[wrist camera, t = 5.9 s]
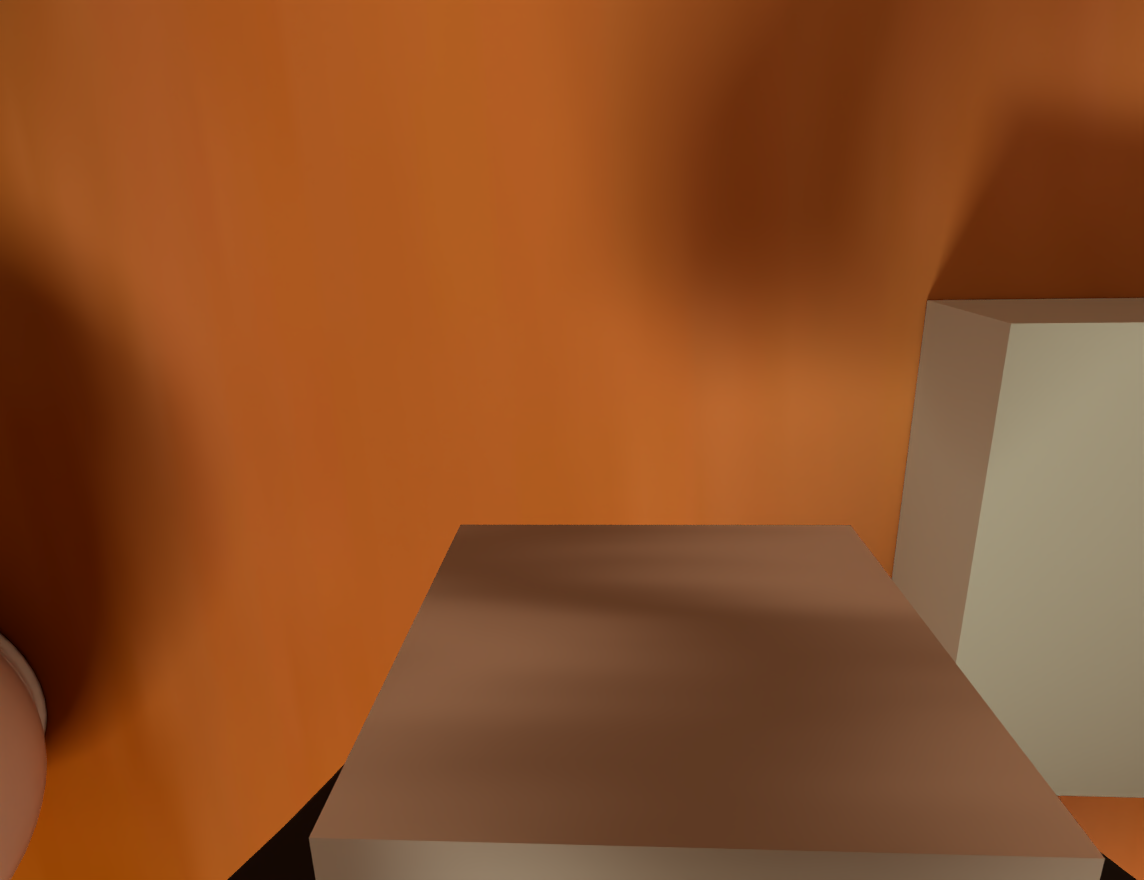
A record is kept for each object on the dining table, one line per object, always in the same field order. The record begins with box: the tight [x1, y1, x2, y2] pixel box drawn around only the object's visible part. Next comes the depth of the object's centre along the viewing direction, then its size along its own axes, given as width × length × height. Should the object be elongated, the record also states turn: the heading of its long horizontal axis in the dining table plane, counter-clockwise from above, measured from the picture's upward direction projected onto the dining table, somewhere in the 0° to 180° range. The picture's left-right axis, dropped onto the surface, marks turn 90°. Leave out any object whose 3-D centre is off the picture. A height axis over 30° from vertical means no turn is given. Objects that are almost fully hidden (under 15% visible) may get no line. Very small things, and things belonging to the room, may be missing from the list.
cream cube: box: [309, 525, 1105, 880], centre depth 9 cm, size 6×6×6 cm
